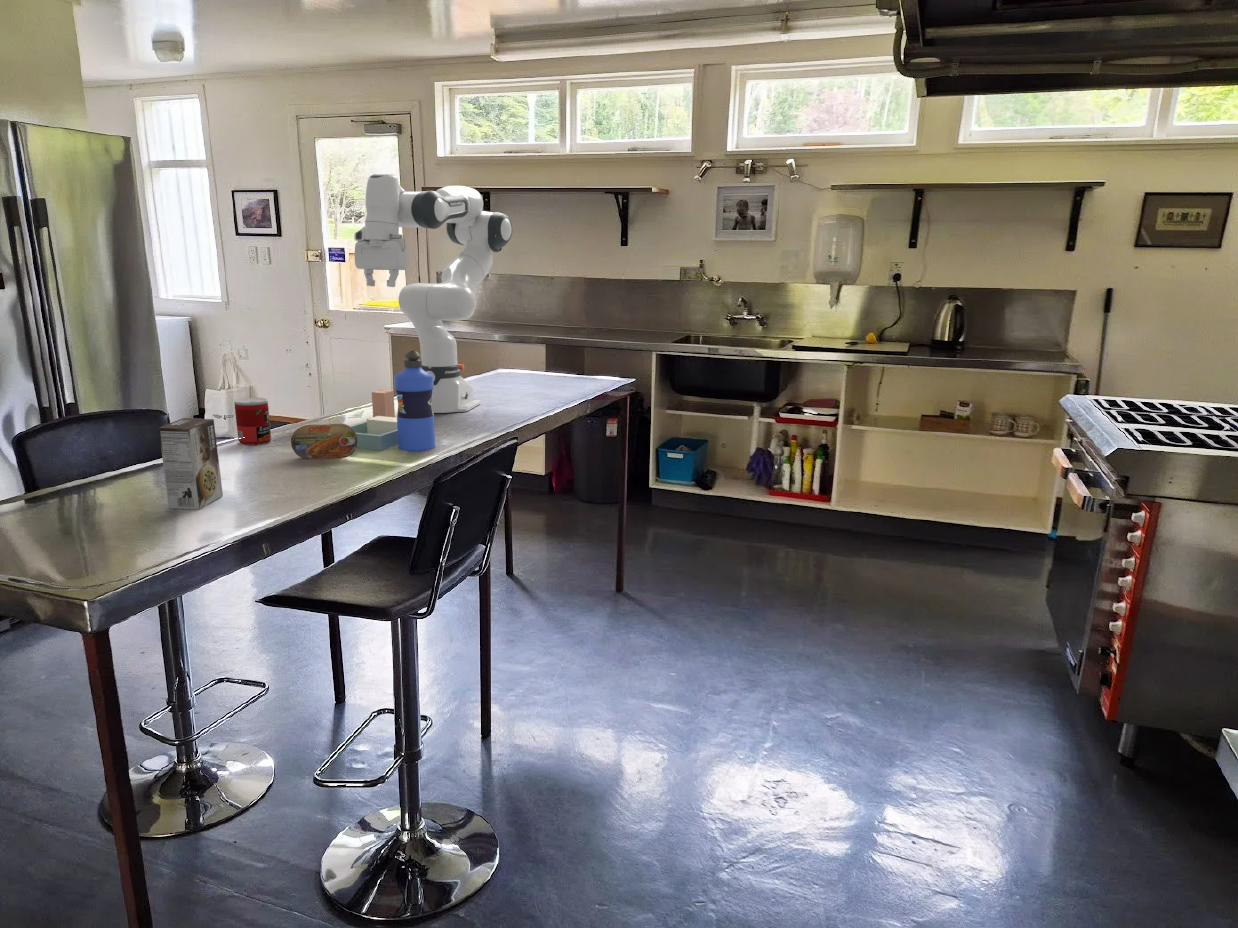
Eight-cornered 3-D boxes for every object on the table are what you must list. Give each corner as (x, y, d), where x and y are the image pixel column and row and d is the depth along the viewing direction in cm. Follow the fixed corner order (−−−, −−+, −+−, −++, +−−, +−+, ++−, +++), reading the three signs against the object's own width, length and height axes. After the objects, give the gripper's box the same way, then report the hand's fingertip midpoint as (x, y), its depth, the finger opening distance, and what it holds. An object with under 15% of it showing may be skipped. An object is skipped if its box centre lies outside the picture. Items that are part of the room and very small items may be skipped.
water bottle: (401, 455, 198) (396, 353, 191) (395, 447, 206) (390, 349, 200) (439, 452, 202) (435, 352, 195) (431, 444, 210) (427, 348, 203)
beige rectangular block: (379, 434, 217) (378, 415, 215) (408, 437, 214) (407, 418, 213) (367, 437, 212) (366, 419, 211) (397, 441, 209) (396, 422, 208)
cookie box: (192, 495, 164) (183, 417, 160) (224, 496, 164) (215, 418, 159) (167, 509, 155) (156, 427, 151) (200, 510, 155) (190, 427, 151)
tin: (292, 460, 192) (289, 425, 190) (294, 457, 195) (291, 423, 193) (358, 458, 195) (356, 424, 193) (359, 455, 198) (357, 421, 196)
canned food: (263, 445, 205) (259, 403, 202) (232, 445, 205) (228, 402, 202) (276, 439, 212) (273, 397, 210) (246, 438, 213) (242, 397, 210)
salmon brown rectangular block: (383, 428, 227) (381, 389, 225) (395, 429, 226) (393, 390, 223) (373, 431, 223) (371, 392, 221) (386, 432, 222) (384, 393, 219)
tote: (377, 434, 220) (376, 418, 219) (421, 439, 216) (420, 422, 214) (334, 448, 203) (332, 431, 202) (381, 454, 199) (380, 436, 198)
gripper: (414, 235, 216) (413, 288, 218) (370, 237, 229) (369, 287, 231) (395, 232, 211) (393, 286, 213) (350, 234, 224) (349, 285, 226)
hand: (380, 286), depth 222 cm, fingers open, 8 cm apart
